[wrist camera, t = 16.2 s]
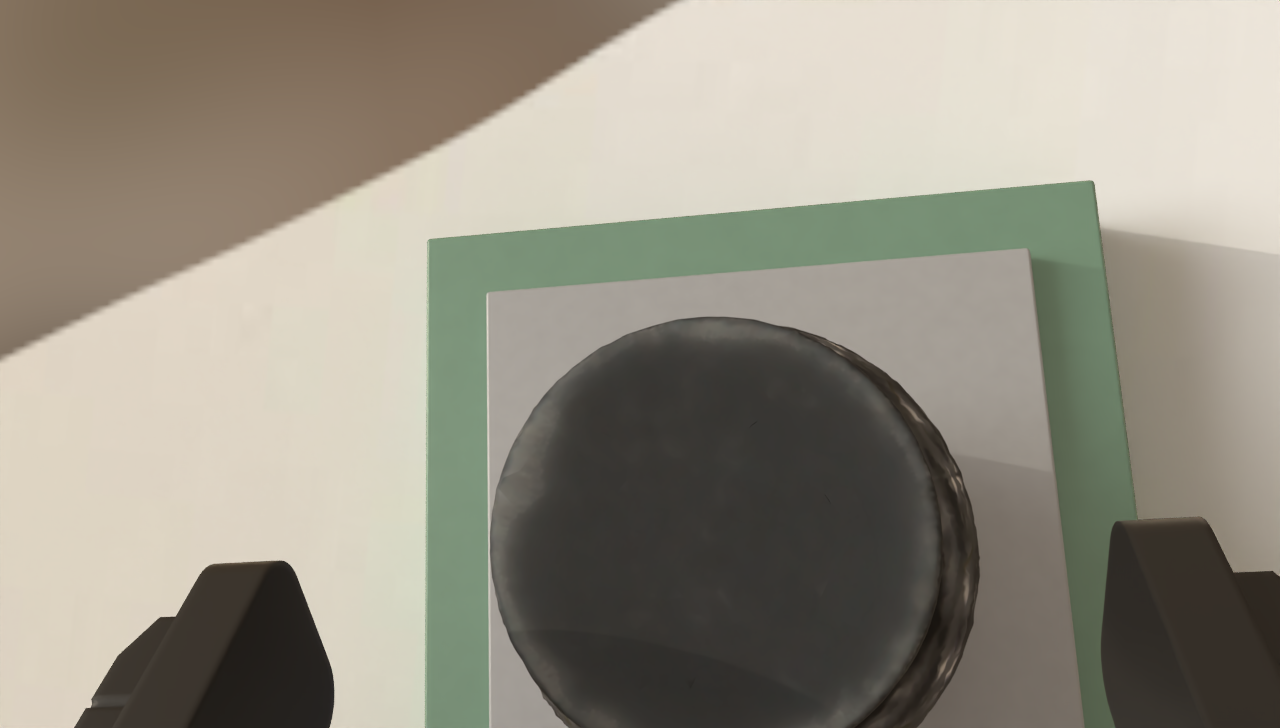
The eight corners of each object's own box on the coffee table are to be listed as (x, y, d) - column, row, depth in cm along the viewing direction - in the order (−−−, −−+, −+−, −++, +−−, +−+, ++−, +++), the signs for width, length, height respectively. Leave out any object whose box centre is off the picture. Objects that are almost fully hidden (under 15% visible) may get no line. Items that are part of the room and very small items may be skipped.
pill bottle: (555, 513, 24) (326, 417, 13) (825, 362, 23) (816, 139, 13) (704, 807, 22) (581, 971, 11) (996, 647, 22) (1149, 662, 11)
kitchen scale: (463, 952, 25) (411, 997, 22) (462, 272, 29) (417, 229, 25) (1160, 954, 23) (1210, 1004, 20) (1070, 221, 26) (1101, 167, 23)
